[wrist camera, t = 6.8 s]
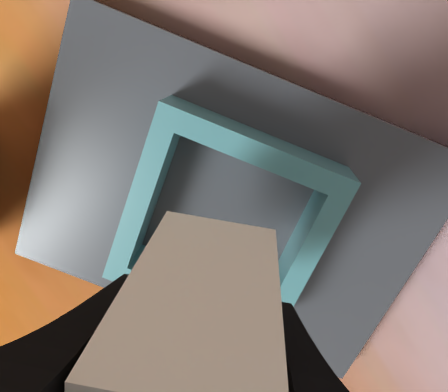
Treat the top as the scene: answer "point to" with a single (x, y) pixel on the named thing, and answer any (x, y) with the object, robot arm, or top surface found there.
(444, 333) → the top surface
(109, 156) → the organizer
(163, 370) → the cream block
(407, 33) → the top surface
